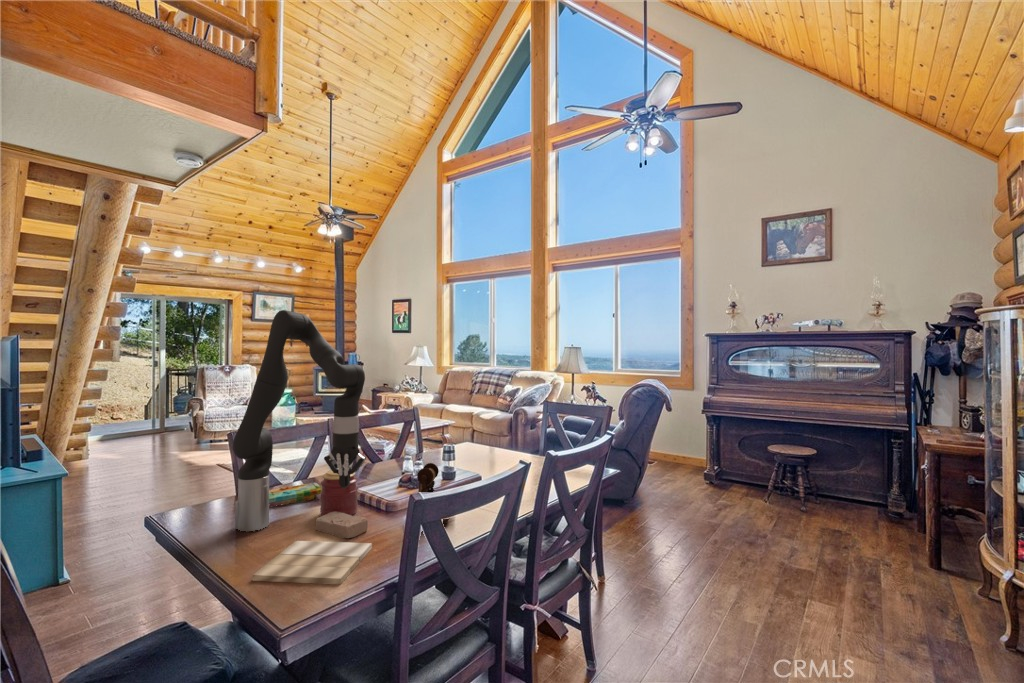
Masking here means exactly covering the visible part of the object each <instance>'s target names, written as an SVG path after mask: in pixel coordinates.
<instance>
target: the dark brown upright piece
mask: <svg viewBox="0 0 1024 683" xmlns="http://www.w3.org/2000/svg"><path fill="white" fill-rule="evenodd" d="M438 475H439V468H438V465H436V464H435V463H432V462H429V463H426V464H424V466H423V468H420V469H419V470H418V471H417V474H416V476H417V477H416V478H417V480H418V491H417V493H418V492H433V491H436V490H434V488H435V485H436V481H435V478H437V477H438ZM449 521H450V518H449V519H443V523H444V524H446V523H448V522H449Z"/></svg>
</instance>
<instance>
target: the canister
mask: <svg viewBox="0 0 1024 683" xmlns="http://www.w3.org/2000/svg"><path fill="white" fill-rule="evenodd" d="M355 475H356V472H355V473H353V474H351V475H350V485H348V487H347V488H341V486H340V485H339V474H337V473H333V471H332V470H331V469H330V470H327V472H326V473H324V474H323V475H322V478H323V479H322V480H321V481H320V482H319V485H320V486H321V488H322V490H321V491H320V493H321V494H320V508H319V511H320V517H321V516H324V515H325V514H328V513H330V512H341V513H345V514H348V515H351V516H354V515H355V514H356V513H357V511H358V508H359V506H358V505H359V502H358V489H359V488H358V486H357V483H358V481H359V479H358V477H356V476H355Z"/></svg>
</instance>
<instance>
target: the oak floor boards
mask: <svg viewBox="0 0 1024 683" xmlns="http://www.w3.org/2000/svg"><path fill="white" fill-rule="evenodd" d="M279 554H280V553H279ZM279 554H277V555H275V557H273V558H272V559H271V560H270V561H268V562H267V563H266V564H264V565H263V566H262V567H261V568H259V569H258V570H256V571H255V572H254V573H253V574H252V576H251V577H252V579H251V580H252V582H253V581H254V582H274V583H275V582H277V583H280V582H281V583H301V584H320V585H321V584H324V585H327V584H328V585H342V583H344V581H345V579H347V577H348V576H349V575H350V574H351V573H352V572H353V570H355V568H356V567H357V566H358V565H359V564H360V562H359V557H333V556H306V555H279Z"/></svg>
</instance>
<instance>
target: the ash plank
mask: <svg viewBox="0 0 1024 683" xmlns="http://www.w3.org/2000/svg"><path fill="white" fill-rule="evenodd" d="M372 548H373V543H372V542H370V543H369V542H345V541H343V542H342V541H314V540H313V541H312V540H295V541H294V542H292V543H291V544H290V545H289V546H288V547H286V548H284V550H282V551H281V552H280V553H279V555H306V556H333V557H359V563H361V561H362V560H363V559H364V558H365V557H367V554H368V553H369V552H370V551H371V550H372Z"/></svg>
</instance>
